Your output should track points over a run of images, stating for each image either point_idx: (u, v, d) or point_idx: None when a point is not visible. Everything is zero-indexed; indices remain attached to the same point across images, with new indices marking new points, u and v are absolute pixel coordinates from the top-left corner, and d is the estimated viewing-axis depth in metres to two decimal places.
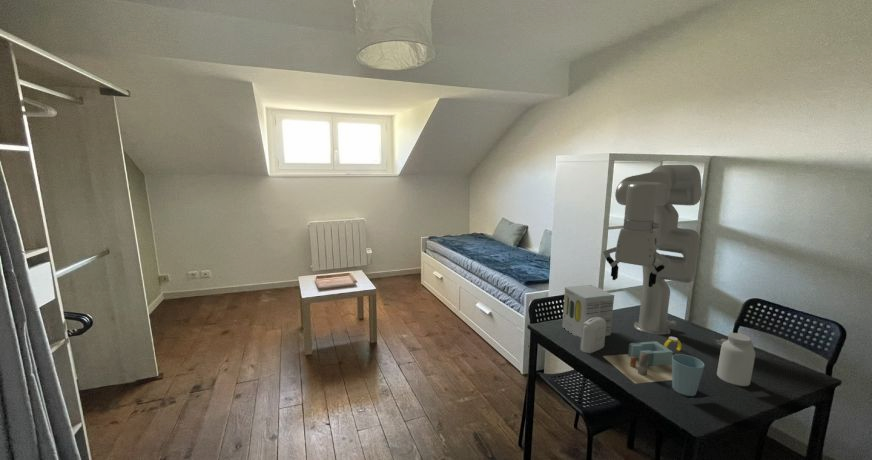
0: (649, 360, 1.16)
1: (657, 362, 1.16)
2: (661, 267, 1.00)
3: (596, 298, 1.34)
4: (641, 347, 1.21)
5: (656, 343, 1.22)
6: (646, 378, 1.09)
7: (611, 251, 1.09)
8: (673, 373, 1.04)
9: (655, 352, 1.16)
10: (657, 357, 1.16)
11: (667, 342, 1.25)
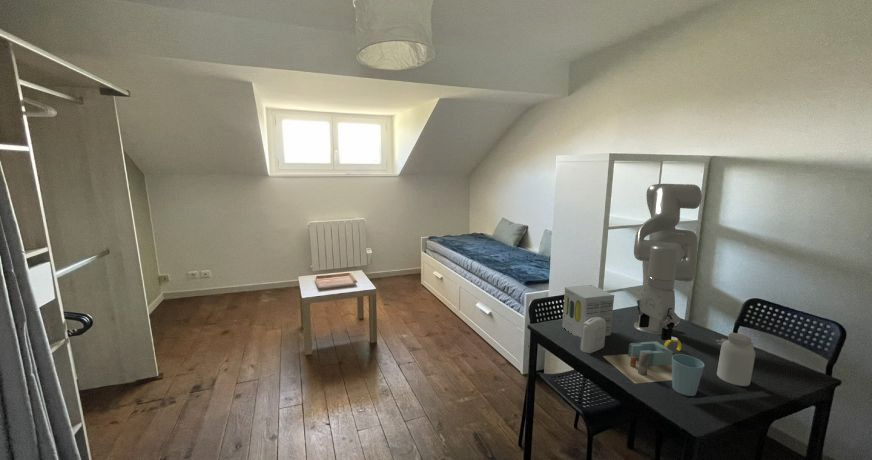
0: (649, 360, 1.16)
1: (657, 362, 1.16)
2: None
3: (596, 298, 1.34)
4: (641, 347, 1.21)
5: (656, 343, 1.22)
6: (646, 378, 1.09)
7: None
8: (673, 373, 1.04)
9: (655, 352, 1.16)
10: (657, 357, 1.16)
11: (667, 342, 1.25)
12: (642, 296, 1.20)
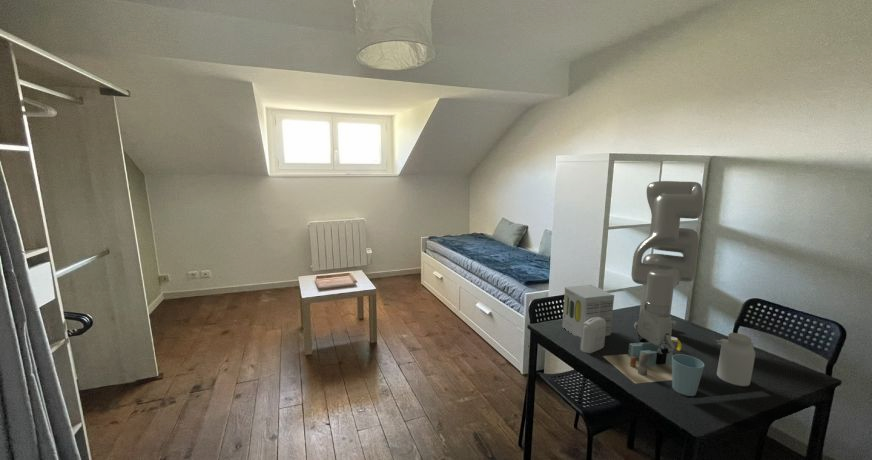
0: (649, 360, 1.16)
1: None
2: None
3: (596, 298, 1.34)
4: (641, 347, 1.21)
5: None
6: (646, 378, 1.09)
7: None
8: (673, 373, 1.04)
9: (655, 352, 1.16)
10: None
11: None
12: (639, 319, 1.22)
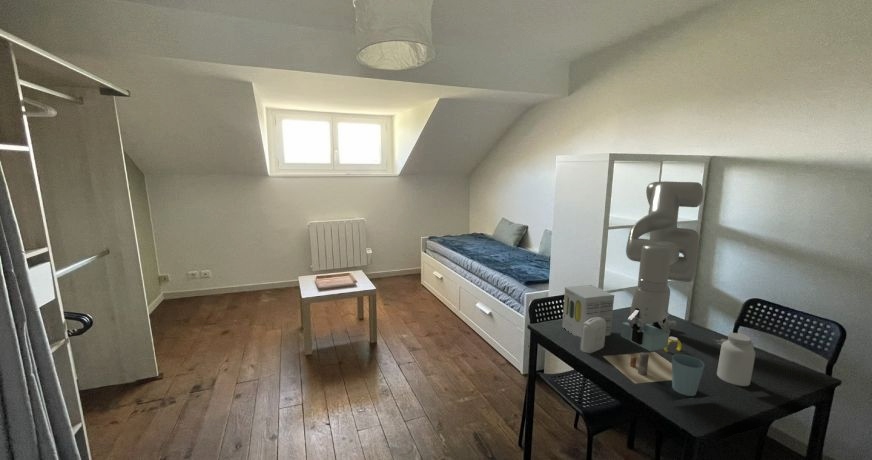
0: (626, 332, 1.12)
1: None
2: (664, 320, 1.10)
3: (596, 298, 1.34)
4: None
5: (662, 332, 1.07)
6: (646, 378, 1.09)
7: (636, 317, 1.06)
8: (673, 373, 1.04)
9: None
10: None
11: None
12: None
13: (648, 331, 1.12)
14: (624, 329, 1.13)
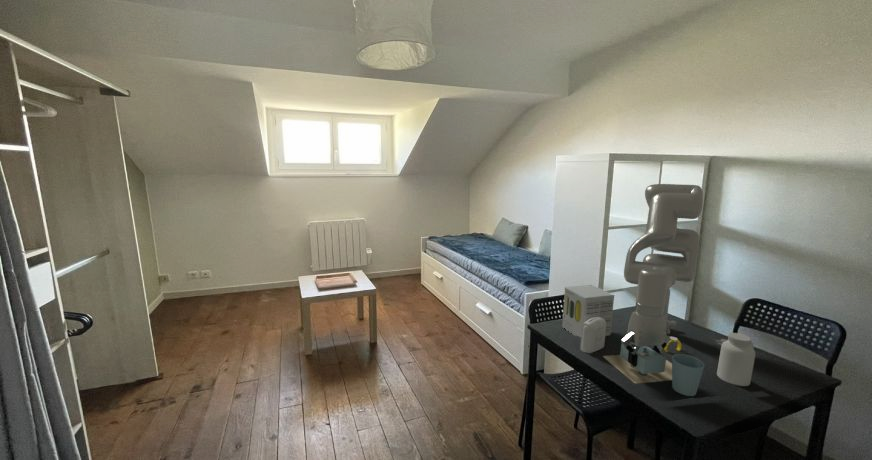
0: (625, 353, 1.14)
1: None
2: (665, 344, 1.10)
3: (596, 298, 1.34)
4: (642, 349, 1.14)
5: (658, 356, 1.08)
6: (646, 378, 1.09)
7: (630, 339, 1.08)
8: (673, 373, 1.04)
9: None
10: None
11: None
12: None
13: None
14: (623, 350, 1.15)
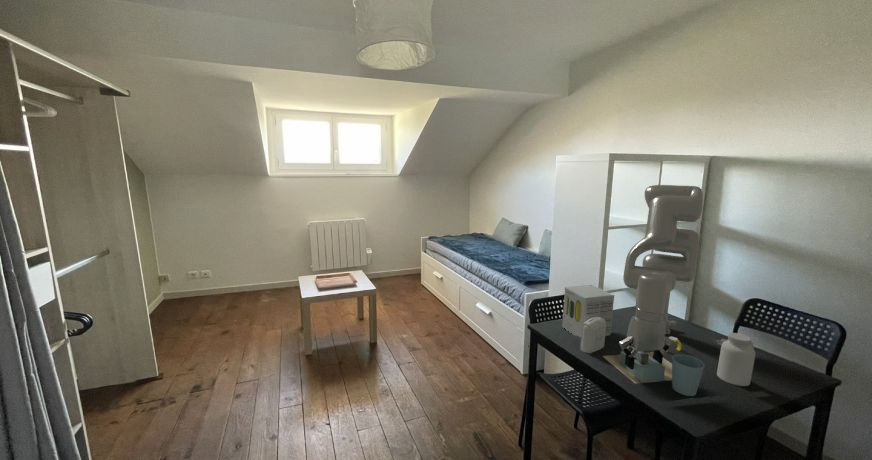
0: (624, 361, 1.15)
1: (630, 369, 1.12)
2: (667, 347, 1.11)
3: (596, 298, 1.34)
4: None
5: (658, 365, 1.08)
6: None
7: (628, 342, 1.09)
8: (673, 373, 1.04)
9: None
10: None
11: None
12: None
13: None
14: (622, 358, 1.16)
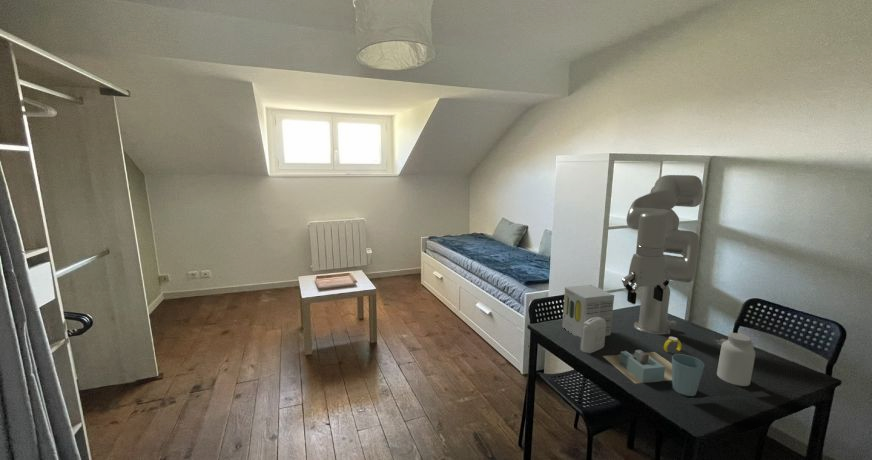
0: (624, 361, 1.15)
1: (630, 369, 1.12)
2: (667, 282, 1.16)
3: (596, 298, 1.34)
4: None
5: (658, 365, 1.08)
6: None
7: (630, 278, 1.14)
8: (673, 373, 1.04)
9: (631, 358, 1.12)
10: (630, 364, 1.12)
11: (667, 342, 1.25)
12: None
13: None
14: (622, 358, 1.16)
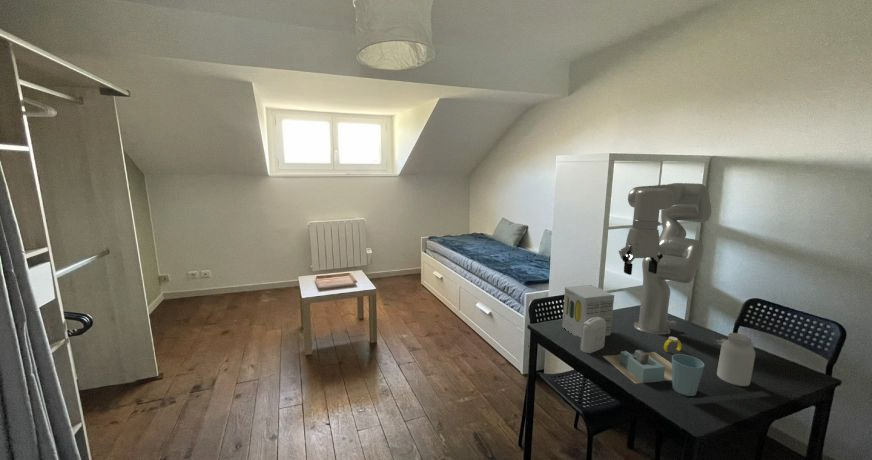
0: (624, 361, 1.15)
1: (630, 369, 1.12)
2: (661, 256, 1.25)
3: (596, 298, 1.34)
4: None
5: (658, 365, 1.08)
6: None
7: (627, 250, 1.23)
8: (673, 373, 1.04)
9: (631, 358, 1.12)
10: (630, 364, 1.12)
11: (667, 342, 1.25)
12: None
13: None
14: (622, 358, 1.16)
